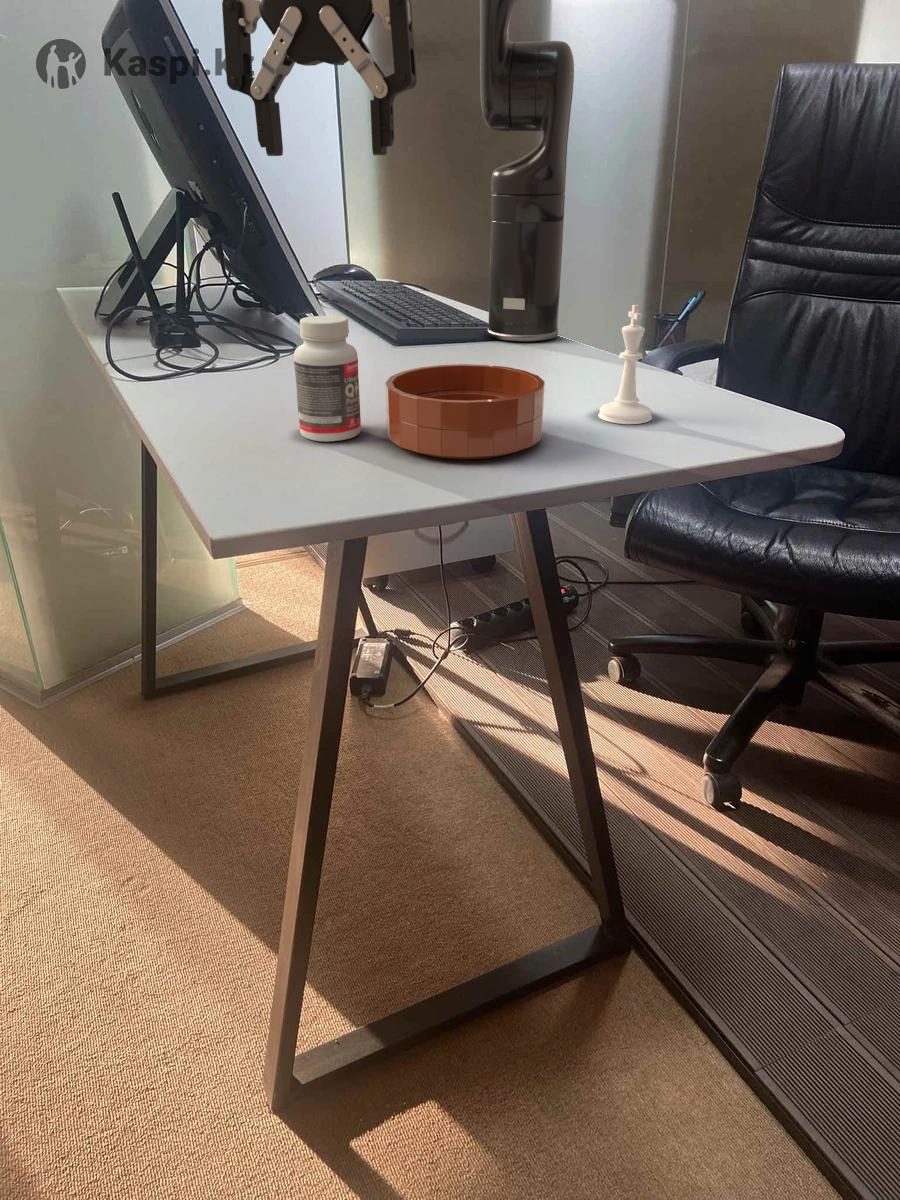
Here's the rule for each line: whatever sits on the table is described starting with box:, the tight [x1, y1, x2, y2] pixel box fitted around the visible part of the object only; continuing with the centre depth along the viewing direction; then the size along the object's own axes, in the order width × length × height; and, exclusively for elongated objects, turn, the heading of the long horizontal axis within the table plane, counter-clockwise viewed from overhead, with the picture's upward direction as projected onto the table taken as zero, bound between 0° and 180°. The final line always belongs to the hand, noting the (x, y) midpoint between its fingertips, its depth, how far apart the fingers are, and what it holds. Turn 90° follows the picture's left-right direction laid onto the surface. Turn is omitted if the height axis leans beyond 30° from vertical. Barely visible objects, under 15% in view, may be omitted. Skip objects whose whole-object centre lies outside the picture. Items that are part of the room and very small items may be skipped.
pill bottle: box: [293, 315, 362, 442], centre depth 73 cm, size 5×5×10 cm
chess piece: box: [598, 304, 653, 425], centre depth 78 cm, size 5×5×10 cm
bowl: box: [384, 363, 546, 460], centre depth 73 cm, size 13×13×5 cm
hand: (326, 155), depth 68 cm, fingers open, 8 cm apart
